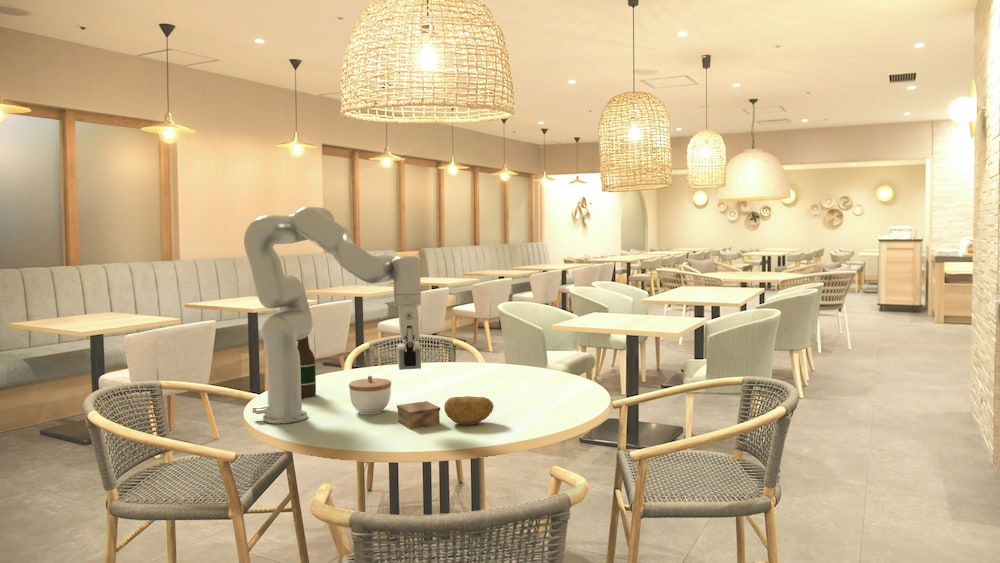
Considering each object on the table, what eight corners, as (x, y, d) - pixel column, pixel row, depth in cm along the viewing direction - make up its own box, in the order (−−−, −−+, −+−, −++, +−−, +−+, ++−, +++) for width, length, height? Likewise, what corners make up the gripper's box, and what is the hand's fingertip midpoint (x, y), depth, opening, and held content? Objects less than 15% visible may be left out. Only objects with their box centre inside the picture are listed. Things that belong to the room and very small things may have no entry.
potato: (496, 427, 205) (495, 399, 205) (445, 429, 203) (445, 401, 203) (491, 418, 215) (490, 391, 214) (443, 420, 213) (442, 393, 212)
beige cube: (399, 369, 203) (398, 347, 203) (398, 365, 209) (397, 343, 209) (421, 368, 204) (420, 346, 204) (419, 364, 210) (419, 342, 210)
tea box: (409, 430, 204) (409, 412, 203) (397, 423, 212) (396, 405, 212) (440, 425, 208) (440, 407, 208) (427, 418, 217) (426, 401, 216)
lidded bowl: (400, 411, 224) (399, 375, 223) (365, 419, 215) (364, 382, 214) (375, 404, 233) (374, 370, 232) (341, 412, 224) (340, 376, 223)
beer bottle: (299, 393, 251) (297, 323, 249) (320, 393, 249) (318, 323, 248) (288, 398, 243) (286, 326, 242) (310, 399, 242) (307, 326, 240)
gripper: (423, 302, 198) (425, 368, 199) (418, 296, 215) (420, 357, 216) (395, 303, 196) (397, 370, 198) (392, 297, 213) (394, 359, 215)
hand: (409, 363), depth 207 cm, fingers closed on beige cube, 6 cm apart
